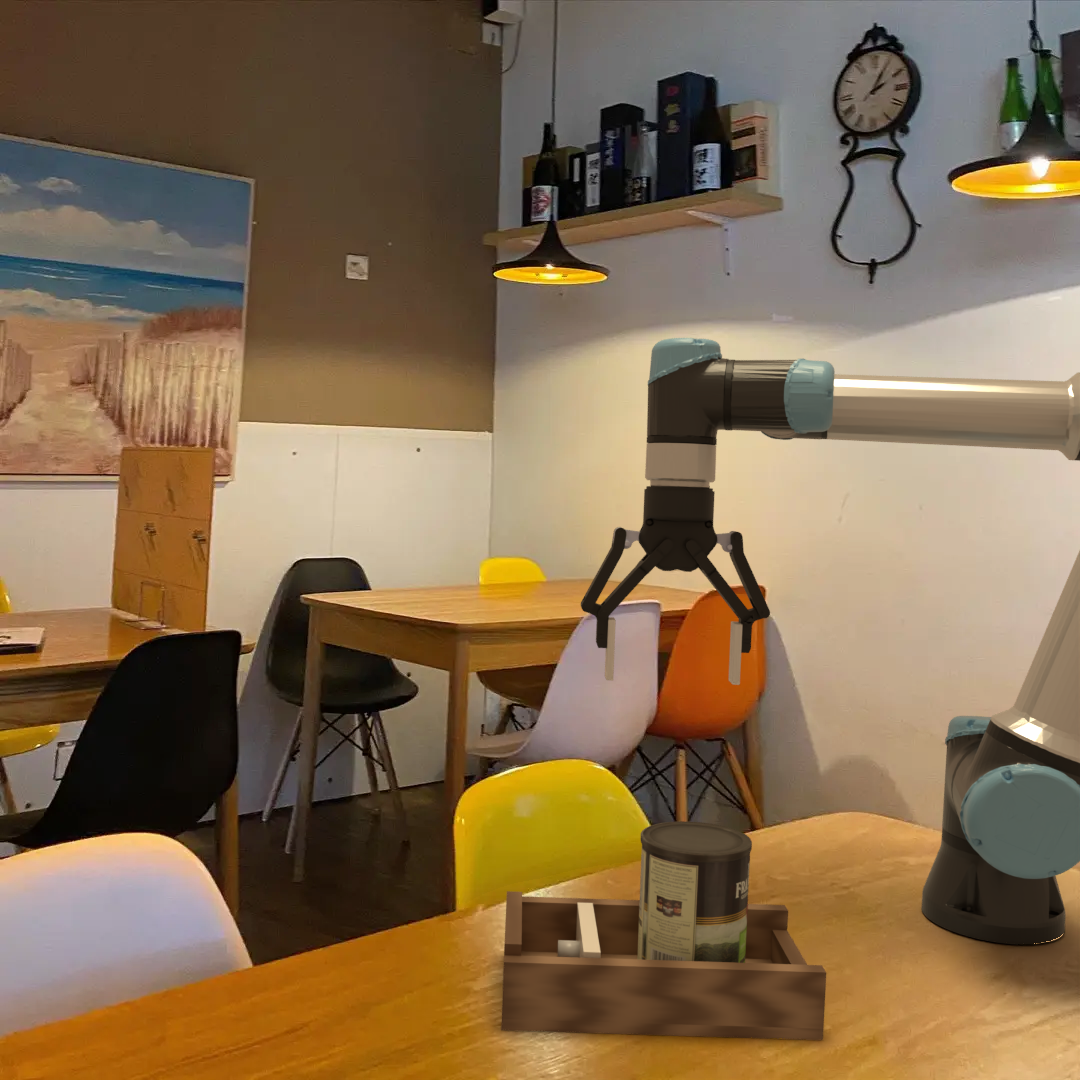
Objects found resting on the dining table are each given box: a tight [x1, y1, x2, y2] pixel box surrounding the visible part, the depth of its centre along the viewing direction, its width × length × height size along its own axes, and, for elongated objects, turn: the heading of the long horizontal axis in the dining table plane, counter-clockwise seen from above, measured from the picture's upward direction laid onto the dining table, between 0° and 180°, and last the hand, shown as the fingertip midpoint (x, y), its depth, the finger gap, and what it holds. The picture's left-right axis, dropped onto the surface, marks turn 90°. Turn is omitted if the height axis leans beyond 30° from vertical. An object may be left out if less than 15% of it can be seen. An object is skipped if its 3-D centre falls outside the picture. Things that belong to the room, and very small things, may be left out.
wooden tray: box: [500, 891, 827, 1041], centre depth 107 cm, size 28×16×7 cm, turn 91°
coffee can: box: [637, 821, 753, 963], centre depth 107 cm, size 10×10×14 cm
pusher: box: [557, 903, 601, 958], centre depth 107 cm, size 4×12×5 cm, turn 1°
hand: (671, 680), depth 124 cm, fingers open, 13 cm apart
